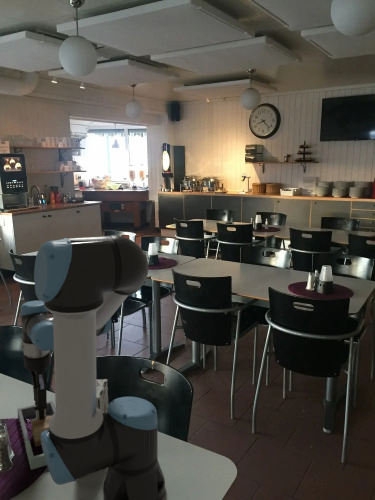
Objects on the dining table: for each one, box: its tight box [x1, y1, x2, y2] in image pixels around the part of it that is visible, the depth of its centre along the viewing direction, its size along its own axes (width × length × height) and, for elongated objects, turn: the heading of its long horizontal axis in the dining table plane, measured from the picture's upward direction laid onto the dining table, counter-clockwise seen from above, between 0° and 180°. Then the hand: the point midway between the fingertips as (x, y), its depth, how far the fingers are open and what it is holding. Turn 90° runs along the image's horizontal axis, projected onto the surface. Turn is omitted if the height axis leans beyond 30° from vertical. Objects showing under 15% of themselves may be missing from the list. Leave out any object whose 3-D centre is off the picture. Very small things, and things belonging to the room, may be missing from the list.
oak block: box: [30, 415, 52, 448], centre depth 126 cm, size 6×6×5 cm
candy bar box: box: [96, 378, 109, 414], centre depth 125 cm, size 11×5×16 cm, turn 179°
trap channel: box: [17, 400, 56, 471], centre depth 127 cm, size 28×11×3 cm, turn 28°
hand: (41, 426), depth 129 cm, fingers closed
